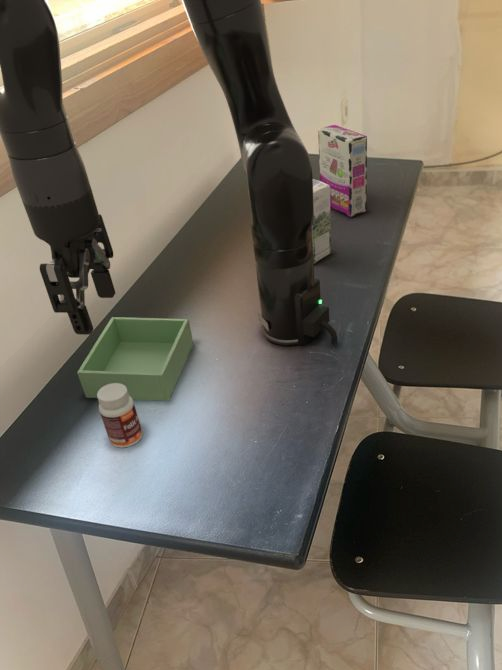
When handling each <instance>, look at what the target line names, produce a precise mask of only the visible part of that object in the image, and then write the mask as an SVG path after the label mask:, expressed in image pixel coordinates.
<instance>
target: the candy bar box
mask: <svg viewBox="0 0 502 670" xmlns="http://www.w3.org/2000/svg"><path fill="white" fill-rule="evenodd" d="M317 133H318V134H317V136H318V137H317V138H318V160H319V181H321V182H323V183H326V184H328V185H330V209H333V210H334V211H336V212H339V213H341V214H343V215H345V216H347V217H349V218H352V217H355V216H358V215H359V216H360V215H361V214H364V213H366V212H367V196H368V195H367V194H368V193H367V189H368V187H367V186H368V183H367V182H368V181H367V180H368V177H367V176H368V175H367V173H368V135H365V134H362V133H359V132H357V131H354V130H351V129H347V128H345V127H342V126H339V125H338V124H331V125H328V126H324V127H322V128H319V129H317Z"/></svg>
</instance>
